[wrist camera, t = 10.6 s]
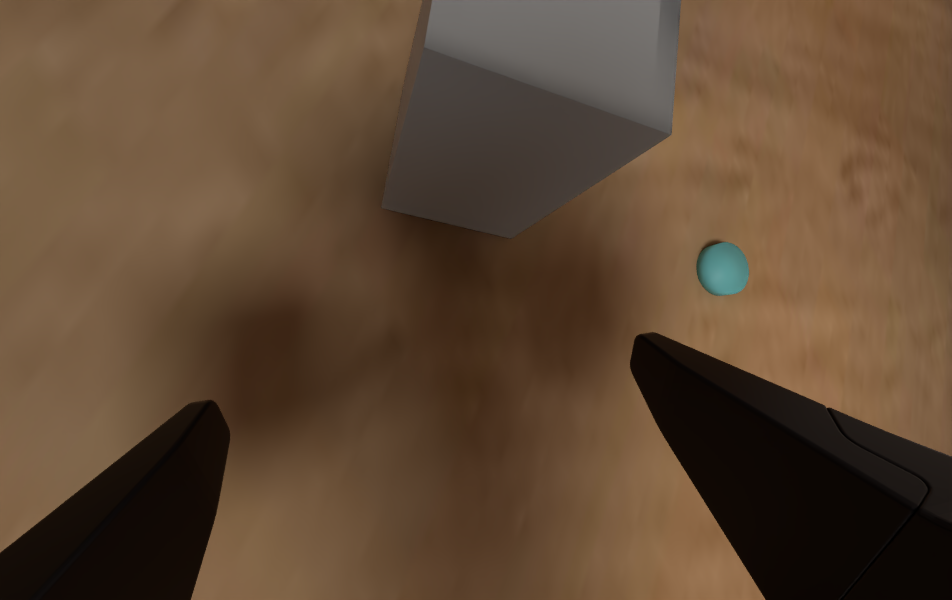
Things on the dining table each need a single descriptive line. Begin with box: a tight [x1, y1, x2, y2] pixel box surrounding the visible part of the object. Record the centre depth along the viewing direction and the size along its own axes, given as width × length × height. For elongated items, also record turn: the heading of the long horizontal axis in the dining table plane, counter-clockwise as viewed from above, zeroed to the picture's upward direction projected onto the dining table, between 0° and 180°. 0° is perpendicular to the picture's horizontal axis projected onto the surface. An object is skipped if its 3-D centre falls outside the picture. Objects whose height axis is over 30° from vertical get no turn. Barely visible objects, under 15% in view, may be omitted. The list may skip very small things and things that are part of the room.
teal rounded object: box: [697, 242, 749, 296], centre depth 23 cm, size 3×3×1 cm
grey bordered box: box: [381, 0, 681, 239], centre depth 14 cm, size 6×6×10 cm
